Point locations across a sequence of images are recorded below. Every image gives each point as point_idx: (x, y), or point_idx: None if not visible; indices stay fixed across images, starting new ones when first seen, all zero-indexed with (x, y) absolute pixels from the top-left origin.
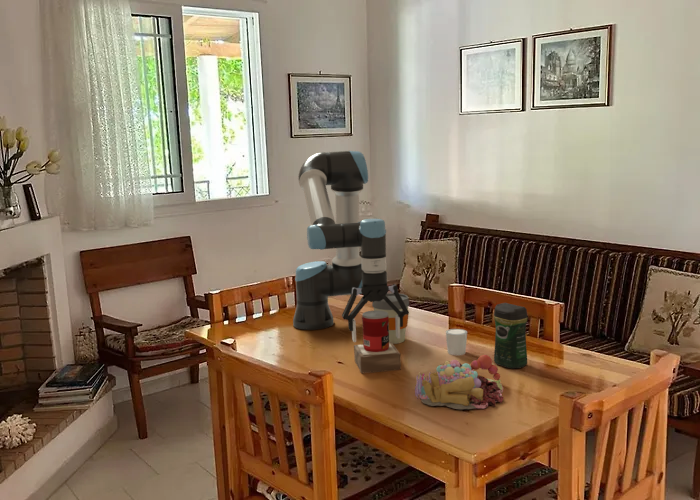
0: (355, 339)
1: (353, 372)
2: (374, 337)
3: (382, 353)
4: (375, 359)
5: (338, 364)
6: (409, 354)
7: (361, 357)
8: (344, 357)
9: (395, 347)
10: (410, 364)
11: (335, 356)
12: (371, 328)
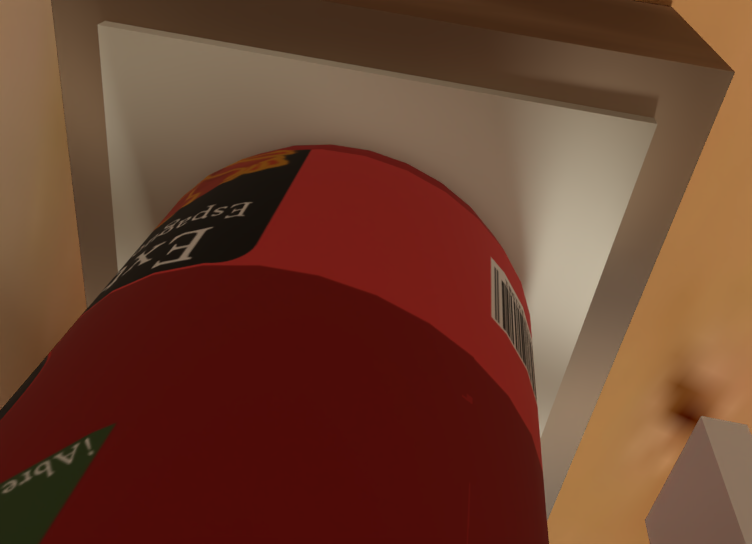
0: (726, 455)
1: (738, 85)
2: (400, 298)
3: (329, 65)
4: (475, 14)
5: (734, 374)
6: (2, 317)
7: (722, 65)
8: (580, 490)
9: (81, 252)
10: (20, 56)
11: (639, 537)
12: (438, 498)
